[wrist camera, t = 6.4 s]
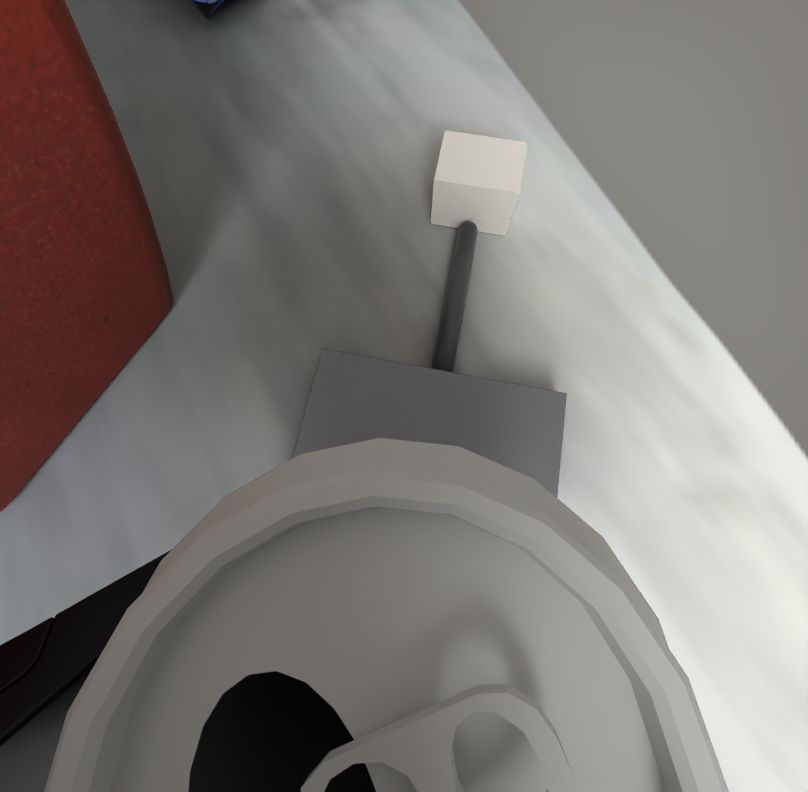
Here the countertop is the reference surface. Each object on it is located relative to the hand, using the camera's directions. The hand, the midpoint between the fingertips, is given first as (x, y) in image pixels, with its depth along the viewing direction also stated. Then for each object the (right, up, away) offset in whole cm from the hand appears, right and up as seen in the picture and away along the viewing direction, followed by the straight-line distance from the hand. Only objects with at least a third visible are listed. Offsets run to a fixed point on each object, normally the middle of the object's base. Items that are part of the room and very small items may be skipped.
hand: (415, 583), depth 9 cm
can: (0, -3, +6) cm, 7 cm away
